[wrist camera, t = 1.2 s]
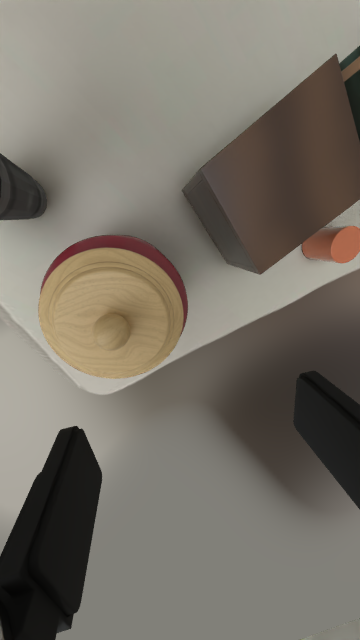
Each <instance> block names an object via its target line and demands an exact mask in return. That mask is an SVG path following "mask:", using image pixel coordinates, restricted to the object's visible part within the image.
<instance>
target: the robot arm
mask: <svg viewBox="0 0 360 640" xmlns="http://www.w3.org/2000/svg"><path fill="white" fill-rule="evenodd" d="M294 426H295V428H296V430H297V431H298V432H299V434H300V435H301V436H302V437H303V439H304V440H305V441H306V442H307V444H308V445H309V446H310V447H311V449H312V450H313V451H314V452H315V454H316V455H317V456H318V458H319V459H320V460H321V461H322V463H323V464H324V465H325V466H326V468H327V469H328V470H329V471H330V473H331V474H332V475H333V476H334V478H335V479H336V480H337V481H338V483H339V484H340V485H341V486H342V488H343V489H344V490H345V491H346V493H347V494H348V495H349V496H350V498H351V499H352V500H353V501H354V503H355V504H356V505H357V506H358V508H359V509H360V405H359V404H358V403H357V402H355V401H354V400H353V399H351V398H350V397H349V396H347V395H346V394H345V393H344V392H342V391H341V390H340V389H338V388H337V387H336V386H335V385H333V384H332V383H331V382H329V381H328V380H327V379H326V378H324V377H323V376H322V375H320V374H319V373H318V372H316V371H310V372H305V373H302V374H300V376H299V378H297V384H296V396H295V409H294ZM101 483H102V472H101V470H100V467H99V465H98V462H97V460H96V458H95V455H94V453H93V451H92V449H91V447H90V444H89V442H88V440H87V437H86V435H85V433H84V431H83V429H79V428H78V427H77V426H74V427H69V428H66V429H62V430H60V431H59V433H58V435H57V437H56V440H55V442H54V444H53V447H52V449H51V451H50V454H49V456H48V458H47V460H46V463H45V465H44V467H43V470H42V472H40V473H39V474H38V475H37V477H36V479H35V480H34V482H33V485H32V487H31V489H30V491H29V494H28V496H27V498H26V500H25V503H24V505H23V507H22V509H21V511H20V514H19V516H18V518H17V520H16V523H15V525H14V527H13V529H12V532H11V533H10V536H9V538H8V541H7V542H6V545H5V547H4V549H3V551H2V554H1V556H0V640H55V638H56V634H57V633H59V632H62V631H65V630H68V629H71V625H72V620H73V614H74V613H76V612H77V611H78V609H79V607H80V603H81V598H82V593H83V587H84V581H85V575H86V570H87V563H88V558H89V552H90V546H91V540H92V534H93V528H94V523H95V517H96V511H97V506H98V500H99V494H100V488H101ZM301 640H360V618H359V619H357V620H354V621H351V622H348V623H345V624H342V625H340V626H337V627H334V628H331V629H328V630H326V631H323V632H320V633H317V634H314V635H312V636H309V637H306V638H304V639H301Z"/></svg>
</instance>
